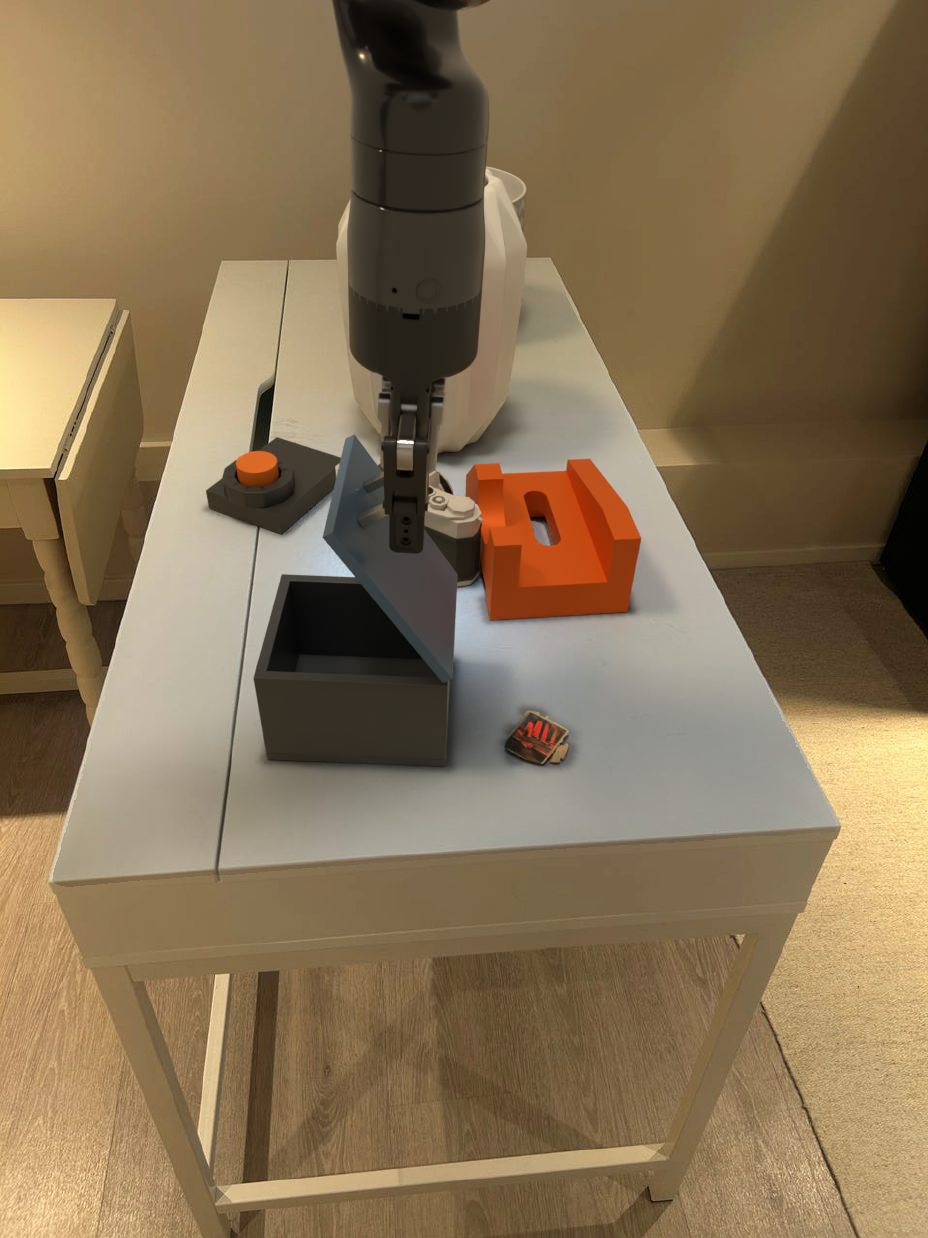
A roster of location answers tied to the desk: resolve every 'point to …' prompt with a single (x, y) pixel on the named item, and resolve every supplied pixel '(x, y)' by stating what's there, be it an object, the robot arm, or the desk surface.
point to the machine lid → (392, 561)
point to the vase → (489, 375)
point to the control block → (277, 487)
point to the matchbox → (537, 738)
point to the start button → (257, 468)
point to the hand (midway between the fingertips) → (409, 523)
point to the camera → (453, 527)
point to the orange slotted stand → (581, 531)
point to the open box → (345, 680)
